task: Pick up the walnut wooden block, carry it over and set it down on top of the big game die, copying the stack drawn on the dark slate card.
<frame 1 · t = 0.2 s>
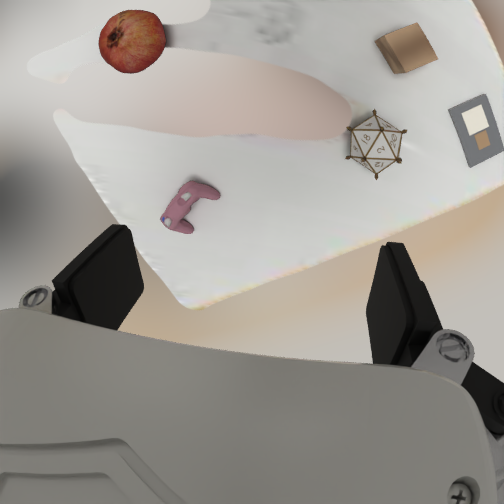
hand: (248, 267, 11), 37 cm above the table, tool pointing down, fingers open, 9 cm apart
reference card: (477, 130, 35), on the table
fruit: (147, 42, 38), on the table
game die: (370, 139, 41), on the table
walnut block: (399, 50, 33), on the table
video game controller: (194, 202, 52), on the table
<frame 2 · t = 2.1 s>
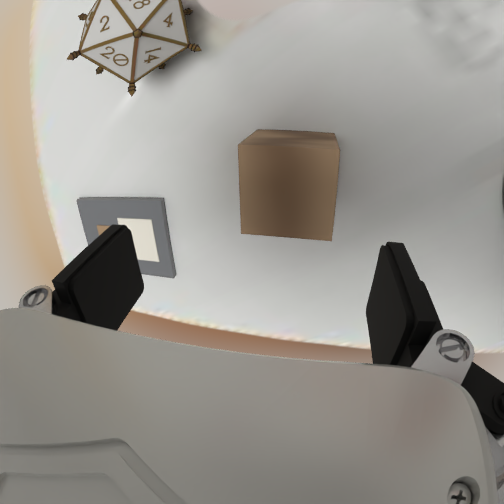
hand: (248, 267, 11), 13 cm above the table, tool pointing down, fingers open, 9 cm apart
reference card: (125, 235, 29), on the table
game die: (162, 34, 18), on the table
walnut block: (295, 166, 22), on the table
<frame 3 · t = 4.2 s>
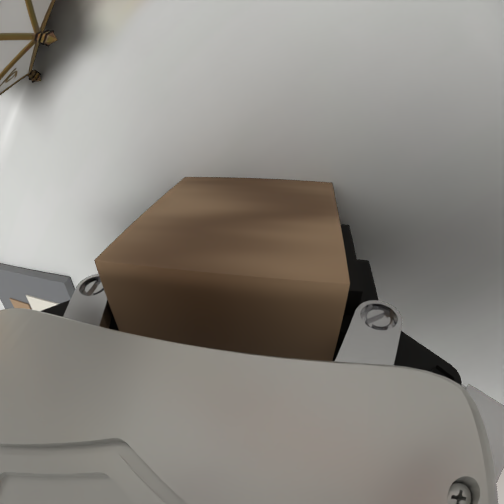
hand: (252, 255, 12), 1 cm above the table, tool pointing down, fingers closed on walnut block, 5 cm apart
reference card: (42, 313, 18), on the table
game die: (41, 25, 8), on the table
walnut block: (256, 244, 12), on the table, touching gripper
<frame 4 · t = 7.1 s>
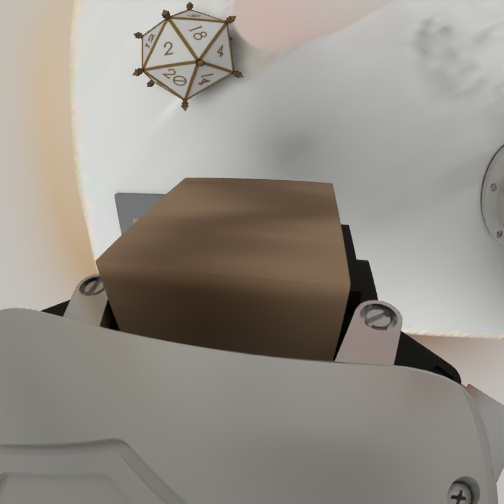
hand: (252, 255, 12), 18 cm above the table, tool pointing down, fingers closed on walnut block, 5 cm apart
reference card: (159, 227, 33), on the table
game die: (204, 55, 23), on the table
walnut block: (257, 244, 12), point 17 cm above the table, touching gripper
when the fingers open (10 cm above the table, at t = 10.0 s): walnut block drops 1 cm, resting on game die.
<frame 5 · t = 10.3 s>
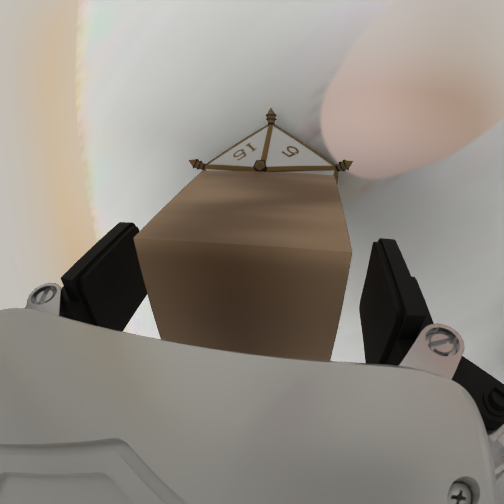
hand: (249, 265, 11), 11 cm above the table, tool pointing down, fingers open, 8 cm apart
game die: (278, 175, 21), on the table, touching walnut block
walnut block: (267, 231, 14), point 8 cm above the table, touching game die
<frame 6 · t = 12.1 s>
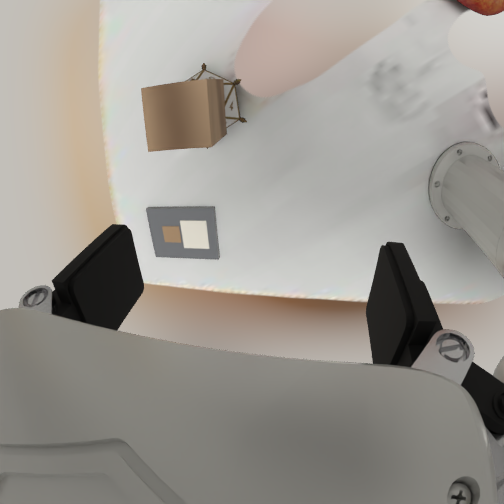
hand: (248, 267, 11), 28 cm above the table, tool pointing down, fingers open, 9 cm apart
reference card: (183, 232, 44), on the table
game die: (214, 101, 34), on the table, touching walnut block
walnut block: (197, 108, 27), point 8 cm above the table, touching game die
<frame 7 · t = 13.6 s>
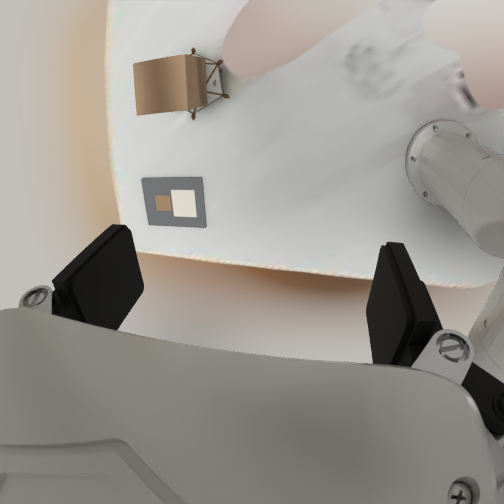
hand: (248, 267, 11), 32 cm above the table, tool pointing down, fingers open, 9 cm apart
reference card: (174, 201, 47), on the table
game die: (203, 82, 37), on the table, touching walnut block
walnut block: (183, 83, 30), point 8 cm above the table, touching game die
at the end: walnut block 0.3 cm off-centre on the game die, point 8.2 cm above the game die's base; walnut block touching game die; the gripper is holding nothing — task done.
